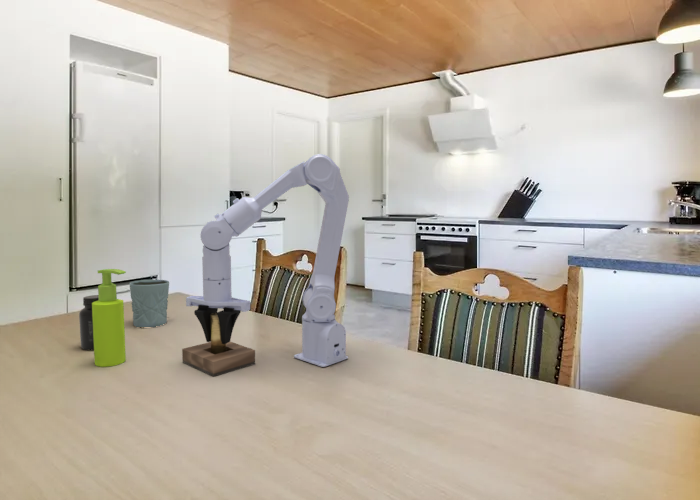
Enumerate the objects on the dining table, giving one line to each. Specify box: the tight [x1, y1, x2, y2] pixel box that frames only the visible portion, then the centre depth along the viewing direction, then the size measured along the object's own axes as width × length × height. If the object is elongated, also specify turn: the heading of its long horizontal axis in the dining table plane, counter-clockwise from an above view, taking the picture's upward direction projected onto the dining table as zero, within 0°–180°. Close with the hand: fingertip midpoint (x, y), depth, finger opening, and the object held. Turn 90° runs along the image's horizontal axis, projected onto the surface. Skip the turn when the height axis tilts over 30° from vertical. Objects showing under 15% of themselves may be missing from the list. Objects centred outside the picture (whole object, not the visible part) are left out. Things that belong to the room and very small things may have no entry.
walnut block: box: [181, 341, 256, 377], centre depth 97 cm, size 12×10×3 cm
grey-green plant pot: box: [129, 279, 170, 328], centre depth 128 cm, size 10×10×12 cm
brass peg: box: [210, 313, 226, 354], centre depth 97 cm, size 3×3×9 cm
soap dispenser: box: [92, 268, 127, 368], centre depth 97 cm, size 6×7×20 cm
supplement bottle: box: [78, 294, 99, 351], centre depth 108 cm, size 7×7×12 cm
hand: (218, 341), depth 97 cm, fingers open, 3 cm apart
